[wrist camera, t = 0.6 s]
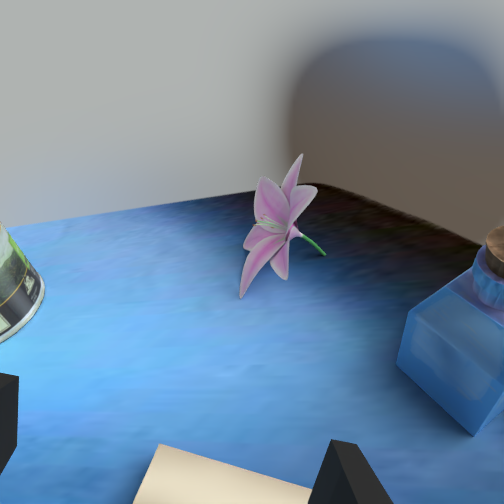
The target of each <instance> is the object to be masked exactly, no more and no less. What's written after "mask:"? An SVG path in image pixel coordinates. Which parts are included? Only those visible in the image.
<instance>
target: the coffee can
mask: <svg viewBox="0 0 504 504" xmlns="http://www.w3.org/2000/svg"><path fill="white" fill-rule="evenodd" d="M44 292H45V285H44V281H43V279H42V277H41V276H40V275H39V273H38V272H36V270H35V269H34V268H33V266H32V265H31V264H30V262H29V261H28V259H27V258H26V257H25V255H24V254H23V252H22V251H21V250H20V248H19V247H18V246H17V244H16V243H15V241H14V240H13V239H12V237H11V236H10V234H9V233H8V232H7V230H6V229H5V227H4V226H3V225H2V223H1V222H0V343H1V342H3V341H5V340H6V339H8V338H9V337H11V336H12V335H14V334H15V333H16V332H18V331H19V329H21V328H22V327H23V326H24V325H25V324H26V323H27V322H28V321H29V320H30V319H31V318H32V317H33V315H34V314H35V313H36V311H37V310H38V308H39V306H40V304H41V302H42V300H43V297H44Z"/></svg>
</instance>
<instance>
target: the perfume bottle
mask: <svg viewBox="0 0 504 504" xmlns="http://www.w3.org/2000/svg"><path fill="white" fill-rule="evenodd" d="M396 365H397V366H398V367H399V368H400V369H401V370H402V371H403V372H404V373H405V374H406V375H407V376H409V377H410V378H411V379H412V380H413V381H414V382H415V383H416V384H417V385H418V386H419V387H420V388H421V389H423V390H424V391H425V392H426V393H427V394H428V395H429V396H430V397H431V398H432V399H433V400H434V401H435V402H437V403H438V404H439V405H440V406H441V407H442V408H443V409H444V410H445V411H446V412H447V413H448V414H450V415H451V416H452V417H453V418H454V419H455V420H456V421H457V422H458V423H459V424H460V425H461V426H462V427H464V428H465V429H466V430H467V431H468V432H469V433H470V434H471V435H472V436H473V437H474V436H476V435H477V434H478V433H479V432H480V431H481V430H482V429H483V428H484V427H485V426H487V425H488V424H489V423H490V422H491V421H492V420H493V419H494V418H495V417H496V416H497V415H499V414H500V413H501V412H502V411H503V410H504V226H500V227H497V228H495V229H493V230H492V231H491V232H490V233H489V234H488V236H487V240H486V245H484V246H483V247H482V248H481V249H480V250H479V251H478V253H477V256H476V258H475V261H474V264H473V266H472V267H471V268H470V269H468V270H467V271H465V272H464V273H462V274H461V275H460V276H458V277H457V278H455V279H454V280H452V281H451V282H450V283H448V284H447V285H445V286H444V287H443V288H441V289H440V290H438V291H437V292H435V293H434V294H433V295H431V296H430V297H428V298H427V299H426V300H424V301H423V302H421V303H420V304H418V305H417V306H416V307H414V308H413V309H411V310H410V311H409V312H408V316H407V320H406V325H405V329H404V333H403V337H402V341H401V345H400V349H399V353H398V357H397V361H396Z"/></svg>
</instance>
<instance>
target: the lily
mask: <svg viewBox="0 0 504 504" xmlns="http://www.w3.org/2000/svg"><path fill="white" fill-rule="evenodd" d="M302 157H303V153H302V154H301V155H300V156H299V157H298V159H297V160H296V161H295V163H294V164H293V166H292V167H291V169H290V170H289V172H288V174H287V176H286V177H285V179H284V181H283V183H282V185H281V189H280V188H279V186H278V185H277V184H275V183H274V182H273V181H271V180H270V179H268V178H266V177H264V176H261V177H260V179H259V181H258V184H257V188H256V193H255V200H254V214H255V218H256V220H255V221H256V222H257V223H256V224H255V225H253V226H254V227H253V228H252V230H251V231H250V232H249V234H248V236H247V237H246V239H245V241H244V244H243V248H244V249H246V250H249V251H250V253H249V255H248V256H247V259H246V262H245V265H244V268H243V272H242V277H241V283H240V293H239V295H240V299H241V298H242V297H243V295H244V294H245V292H246V290H247V289H248V287H249V285H250V284H251V282H252V280H253V279H254V277H255V276H256V274H257V273H258V272H259V270H260V269H261V268H262V267H263V266H264V264H265V263H266V262H267V261H268V260H269V259H270V258H271V259H270V264H271V266H272V268H273V270H274V271H275V272H276V273H277V274H278V275H279V276H280V277H281V278H282V279H284V280H287V278H288V264H289V241H290V240H291V239H292V238H294V237H297V236H298V237H301V238H303V239H305V240H306V241H308V242H309V243H310V244H312V245H313V246H314V247H315V248H316V249H317V250H318V251H319V252H320V253H321V254H322V255H323V256H325V255H326V254H325V253H324V252H323V250H322V249H321V248H320V247H319V246H317V245H316V244H315V243H314V242H313V241H312V240H311V239H309V238H308V237H306V236H305V235H303V234H302V233H300V232H299V230H298V226H297V221H296V219H297V217H298V216H299V215H300V214H301V213H302V211H303V210H304V209H305V208H306V207H307V206H308V205H309V203H310V202H311V201H312V200H313V198H314V197H315V195H316V193H317V189H316V187H313V186H306V185H303V186H296V185H297V179H298V174H299V170H300V166H301V162H302ZM285 242H286V243H285ZM284 243H285V244H284ZM283 244H284V245H283ZM282 245H283V246H282Z"/></svg>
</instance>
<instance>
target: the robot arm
mask: <svg viewBox="0 0 504 504" xmlns="http://www.w3.org/2000/svg"><path fill="white" fill-rule="evenodd" d="M18 390H19V376H14V375H9V374H4V373H0V475H1V473H2V471H3V469H4V468H5V466H6V464H7V462H8V461H9V459H10V457H11V455H12V454H13V452H14V450H15V448H16V447H17V424H18ZM308 504H393V502H392V500H391V499H390V497H389V496H388V494H387V492H386V491H385V489H384V488H383V486H382V484H381V483H380V481H379V480H378V478H377V476H376V475H375V473H374V471H373V470H372V468H371V467H370V465H369V463H368V462H367V460H366V458H365V457H364V455H363V454H362V452H361V450H360V449H359V447H358V446H357V444H353V443H348V442H343V441H338V440H333V439H331V441H330V444H329V446H328V449H327V452H326V454H325V457H324V460H323V462H322V465H321V468H320V470H319V473H318V476H317V479H316V481H315V484H314V487H313V489H312V492H311V495H310V497H309V500H308Z"/></svg>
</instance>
